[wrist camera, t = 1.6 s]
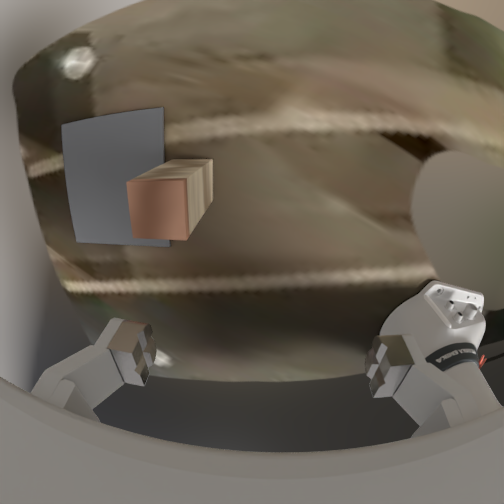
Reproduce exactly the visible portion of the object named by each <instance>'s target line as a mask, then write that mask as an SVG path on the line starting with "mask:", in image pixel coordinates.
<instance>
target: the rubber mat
mask: <svg viewBox="0 0 504 504" xmlns="http://www.w3.org/2000/svg"><path fill="white" fill-rule="evenodd" d="M61 127H62V146H63V158H64V168H65V177H66V185H67V192H68V199H69V205H70V211H71V217H72V222H73V227H74V232H75V236H76V241H77V242H81V243H100V244H119V245H138V246H157V247H170V246H171V244H170V240H164V239H142V238H133V234H132V227H131V220H130V212H129V203H128V194H127V184H126V182H128V181H130V180H132V179H134V178H135V177H137V176H139V175H141V174H143V173H145V172H147V171H149V170H151V169H153V168H155V167H158V166H160V165H162V164H164V163H165V156H164V108H153V109H144V110H136V111H129V112H123V113H116V114H110V115H105V116H99V117H94V118H89V119H84V120H80V121H75V122H71V123H67V124H63V125H61Z"/></svg>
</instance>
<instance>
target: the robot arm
mask: <svg viewBox="0 0 504 504" xmlns="http://www.w3.org/2000/svg"><path fill="white" fill-rule="evenodd" d="M483 304H484V296H483V295H482V293H480V292H477V291H473V290H469V289H466V288H462V287H458V286H454V285H451V284H447V283H444V282H440V281H436V280H434V281H431V282H430V283H429V284H427V285H426V286H425V287H424V288H423V290H422V291H421V292H420V293H418V294H417V295H415V296H414V297H412V298H410V299H408V300H407V301H405V302H404V303H402V304H401V305H400V306H398V307H397V308H396V309H395V310H394V311H393V312H392V313H391V314H390V315H389V317H388V318H387V319H386V321H385V322H384V324H383V326H382V328H381V331H380V335H379V336H375V337H374V339H373V341H372V343H371V344H372V346H373V348H372V349H371V350H370V351H368V353H367V356H366V359H365V371H366V374H367V376H368V377H369V378H371V379H372V380H371V382H370V384H369V385H370V388H371V392H372V395H373V398H378V397H389V396H393V398H394V399H395V400H396V401H397V402H398V403H399V404H400V405H401V407H402V408H403V409H404V410H405V411H406V412H407V413H408V414H409V415H410V416H411V417H412V418H413V419H414V420H415V421H416V422H417V423H418V424H419V425H420V428H419V429H418V430H417V431H416V432H415V433H414V434H413V435H412V437H411V438H410V439H406V440H401V441H396V442H392V443H386V444H381V445H374V446H368V447H361V448H354V449H344V450H335V451H320V452H297V453H273V452H270V453H269V452H247V451H234V450H224V449H215V448H206V447H199V446H193V445H187V444H181V443H175V442H171V441H166V440H161V439H156V438H152V437H148V436H144V435H140V434H136V433H132V432H129V431H125V430H121V429H118V428H115V427H111V426H108V425H105V424H102V423H100V421H99V419H98V417H97V416H96V415H95V413H94V412H93V410H92V409H93V408H95V407H96V406H97V405H98V404H100V403H101V402H102V401H103V400H105V399H106V398H107V397H108V396H109V395H111V394H112V393H113V392H114V391H116V390H117V389H118V388H119V387H120V386H122V385H123V384H124V382H126V383H130V384H135V385H140V386H145V383H146V381H147V378H148V376H149V370H148V367H150V366H151V365H153V363H154V361H155V357H156V343H155V340H154V339H153V338H152V337H151V335H152V332H153V331H152V328H151V325H150V324H147V323H141V322H135V321H130V320H123V319H118V318H113V319H111V320H110V322H109V323H108V325H107V326H106V328H105V329H104V331H103V332H102V334H101V336H100V337H99V339H98V340H97V342H96V343H95V345H94V346H93V345H90V346H88V347H87V348H85V349H83V350H81V351H79V352H77V353H76V354H74V355H72V356H70V357H68V358H66V359H65V360H63V361H61V362H59V363H58V364H55V365H54V366H52V367H50V368H48V369H46V370H45V371H44V373H43V374H42V376H41V377H40V379H39V380H38V382H37V383H36V385H35V387H34V388H33V390H32V392H31V393H29V392H27V391H25V390H23V389H21V388H19V387H17V386H15V385H14V384H12V383H10V382H8V381H7V380H5V379H3V378H2V377H0V504H504V407H502V406H501V405H500V403H499V402H498V401H497V399H496V398H495V396H494V394H493V392H492V390H491V389H490V387H489V385H488V384H487V382H486V380H485V378H484V377H483V375H482V373H481V371H480V368H481V367H482V365H483V364H484V362H485V361H486V359H485V360H484V361H483V358H484V355H482V357H481V358H480V360H478V355H477V348H478V346H479V344H480V342H481V339H482V337H483V334H484V331H485V325H486V324H485V319H484V317H483V315H482V314H481V312H482V308H483ZM482 361H483V362H482ZM481 362H482V364H481Z"/></svg>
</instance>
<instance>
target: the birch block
mask: <svg viewBox="0 0 504 504" xmlns="http://www.w3.org/2000/svg"><path fill="white" fill-rule="evenodd" d="M126 184H127V194H128V203H129V212H130V220H131V227H132V234H133V238H142V239H164V240H186V241H187V239H188V238H189V236H190V234H191V233H192V231H193V230H194V228H195V227H196V225H197V224H198V222H199V221H200V219H201V217H202V216H203V214H204V213H205V211H206V210H207V208H208V207H209V205H210V204H211V202H212V201H213V159H173V160H170V161H168V162H166V163H164V164H162V165H160V166H158V167H155V168H153V169H151V170H149V171H147V172H145V173H143V174H141V175H139V176H137V177H135V178H134V179H132V180H130V181H128V182H126Z"/></svg>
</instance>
